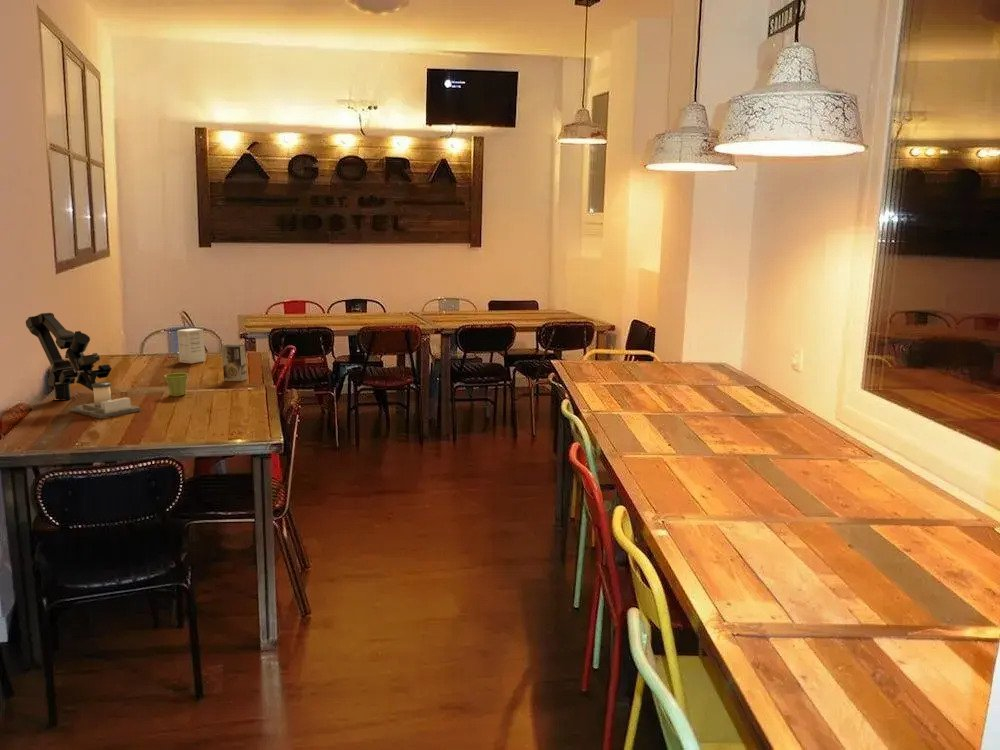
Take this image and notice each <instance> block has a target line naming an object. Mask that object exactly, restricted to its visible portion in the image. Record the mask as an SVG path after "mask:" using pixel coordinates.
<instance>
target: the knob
mask: <svg viewBox="0 0 1000 750" xmlns="http://www.w3.org/2000/svg"><path fill="white" fill-rule="evenodd" d="M91 385H92V387H93V391H92V393H93V401H94V402H93V403H94V404H95V406H96V407H99V408H101V402H102V401H108V400H112V394H111V386H112V383H111V382H109V381H100V382H95V383H93V384H91Z"/></svg>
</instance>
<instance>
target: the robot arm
mask: <svg viewBox="0 0 1000 750" xmlns="http://www.w3.org/2000/svg"><path fill="white" fill-rule="evenodd" d="M25 326H26V329H28V331H29V332H30V333H31V334H32V335H33V336H35V337H37V339H38V341H39V343H40V345H41V347H42V349H43V351H44V353H45V355H46V357H47V359H48V361H49V364H50V368H49V376H48V378H47V379H46V381H47V384H48V386H50V387H53V389H54V390H53V391H54V398H56V399H70V398H71V399H73V398H74V395H71V389H70V388H71V387H70V386H71V384H75V383H76V384H79V385H82V386H83V387H85V388H87V389H88V390H90V391H92V392H93V387H92V385H91V384H93V383H96V379H97V378H98V379H105V378H108V377H109V375H110V373H111V371H112V367H111V365H110V364H107V363H106V364H99V365H98V367H97V368H94V367H95V365H94V364H96V363H97V362H100V356H99V354H98V352H94V353H92V354H87V355H85V354H84V352H86V350H87V348H88V346H89V344H90V341H91V338H90V336H89V335H88V334H86V333H83V332H82V331H81V330H78V331H76V330H75V331H72V330H68V329H66V328H65V327H64V326H63V324H62V323H61V322H60V321H59V320H58V319H57V318H56V317H55V315H54V312H42V313H40V314H37V315H35V316H34V315H33V316H28V317H27V319H26V320H25ZM52 335H53V336H52ZM54 338H55V341H54ZM59 349H60V350H66V351H65V355H64V358H65V359H68V360H64V359H63V357H62V355H61V352H60V350H59ZM72 397H73V398H72ZM71 399H70V400H71Z"/></svg>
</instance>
